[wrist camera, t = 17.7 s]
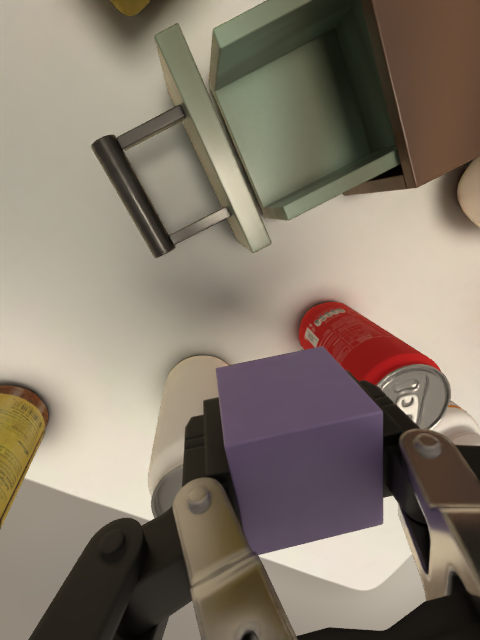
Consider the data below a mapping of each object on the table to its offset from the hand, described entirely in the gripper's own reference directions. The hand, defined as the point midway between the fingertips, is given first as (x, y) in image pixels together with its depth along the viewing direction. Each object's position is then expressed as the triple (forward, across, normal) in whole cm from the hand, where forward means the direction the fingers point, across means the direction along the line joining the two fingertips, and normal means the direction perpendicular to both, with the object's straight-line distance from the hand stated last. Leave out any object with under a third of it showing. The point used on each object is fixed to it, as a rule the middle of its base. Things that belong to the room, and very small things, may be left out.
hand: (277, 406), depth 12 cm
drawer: (+14, -3, -10) cm, 18 cm away
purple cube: (0, 0, 0) cm, 0 cm away
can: (+15, +4, +7) cm, 17 cm away
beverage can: (+15, -7, +4) cm, 17 cm away
